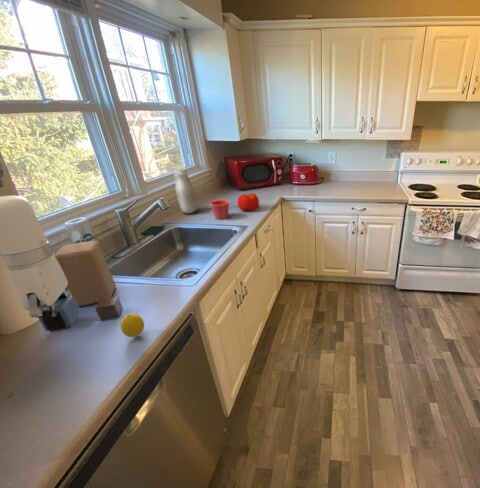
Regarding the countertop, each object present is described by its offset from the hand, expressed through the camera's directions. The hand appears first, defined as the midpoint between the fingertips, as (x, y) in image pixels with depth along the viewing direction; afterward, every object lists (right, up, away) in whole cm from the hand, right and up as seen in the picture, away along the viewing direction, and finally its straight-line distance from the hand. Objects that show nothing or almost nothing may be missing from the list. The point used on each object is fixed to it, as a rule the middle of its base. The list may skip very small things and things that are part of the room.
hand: (62, 320), depth 68 cm
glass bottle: (-25, +39, +116) cm, 125 cm away
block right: (-7, -5, +25) cm, 26 cm away
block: (-19, -1, +34) cm, 39 cm away
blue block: (0, 0, 0) cm, 0 cm away
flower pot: (-1, +35, +108) cm, 114 cm away
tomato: (+12, +41, +121) cm, 128 cm away
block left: (-19, -7, +21) cm, 29 cm away
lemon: (+7, -9, +16) cm, 20 cm away
